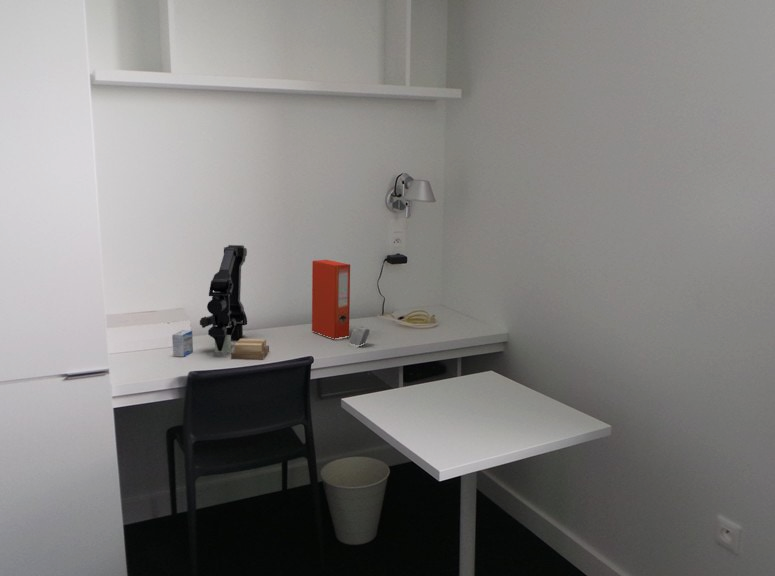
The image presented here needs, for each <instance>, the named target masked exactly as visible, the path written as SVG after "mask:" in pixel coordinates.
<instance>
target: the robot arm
mask: <svg viewBox="0 0 775 576" xmlns="http://www.w3.org/2000/svg"><path fill="white" fill-rule="evenodd" d="M247 254H248V249H247V248H246V247H245V246H244V245H243V244H241V245H239V244H238V245H237V244H228V246H226V247H224V246H223V256H222V259H221V263H220V267H219V270H218V272H216V273H215V274H214V275H213V277H212V280H211V281H210V286H209V291H208V296H209V297H211V300H209V301H208V303H207V306H206V308H207V309H206V310H208V313H210V314H211V315H209V316H204V317H201V318H200V320H199V326H201V328H202V329H204V328H206V327H209V326H211V325H212V326H211V327H210V328H209V329H208V331H207V333H208V336H210V337H211V338H213V339H214V343H215V342H216V345H217V348H218V351H222V348H223V345H224V342H225V339H226V335H231V341H239V340H240V339H241V338H245V337H246V334H245V335H244V333H243V331H244V329H243V326H247V325H248V317H247V315H246V312H245V308H244V306H243V304H242V302H241V290H242V289H241V286H242V282H241V281H242V266H243V265H244V264H245V261H246V258H247Z"/></svg>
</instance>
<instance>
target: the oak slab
mask: <svg viewBox="0 0 775 576" xmlns="http://www.w3.org/2000/svg"><path fill="white" fill-rule="evenodd" d="M266 346H267V339H266V338H245V337H244V338H241V339H240V340H237V342H235V343H234V349H233V351H234V350H235V352H236V353H261V352H262V351H263V350H264V348H265V347H266Z"/></svg>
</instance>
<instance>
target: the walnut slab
mask: <svg viewBox="0 0 775 576" xmlns="http://www.w3.org/2000/svg"><path fill="white" fill-rule="evenodd" d="M269 352H270V345H266V347H265V348H264V350H263V351H262V352H261V353H236V352H235V350H234V349H233V350H232V351H231V352H230V360H246V361H247V360H254V361H255V360H257V361H264V359H265V358H266V356H267V355H268V354H269Z"/></svg>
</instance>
